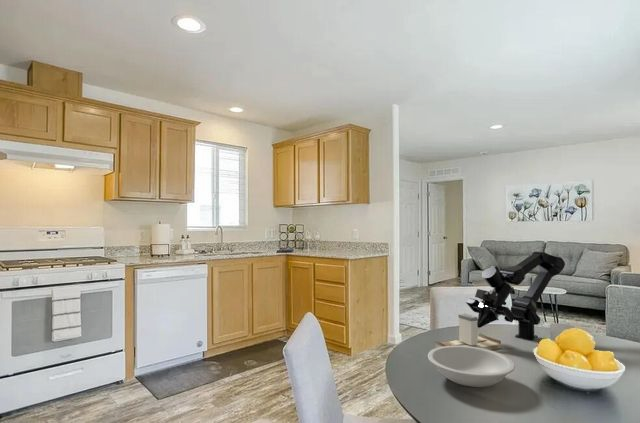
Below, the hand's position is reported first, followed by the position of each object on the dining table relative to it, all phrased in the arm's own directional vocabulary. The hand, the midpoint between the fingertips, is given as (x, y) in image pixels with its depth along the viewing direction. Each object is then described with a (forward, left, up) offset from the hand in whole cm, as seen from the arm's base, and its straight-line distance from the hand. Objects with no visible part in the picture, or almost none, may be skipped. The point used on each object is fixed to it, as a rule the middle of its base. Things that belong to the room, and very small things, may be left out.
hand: (477, 326), depth 143 cm
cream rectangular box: (+5, -2, -5) cm, 7 cm away
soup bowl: (+32, +12, -7) cm, 35 cm away
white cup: (-13, +25, -7) cm, 29 cm away
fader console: (+5, -2, -7) cm, 9 cm away
